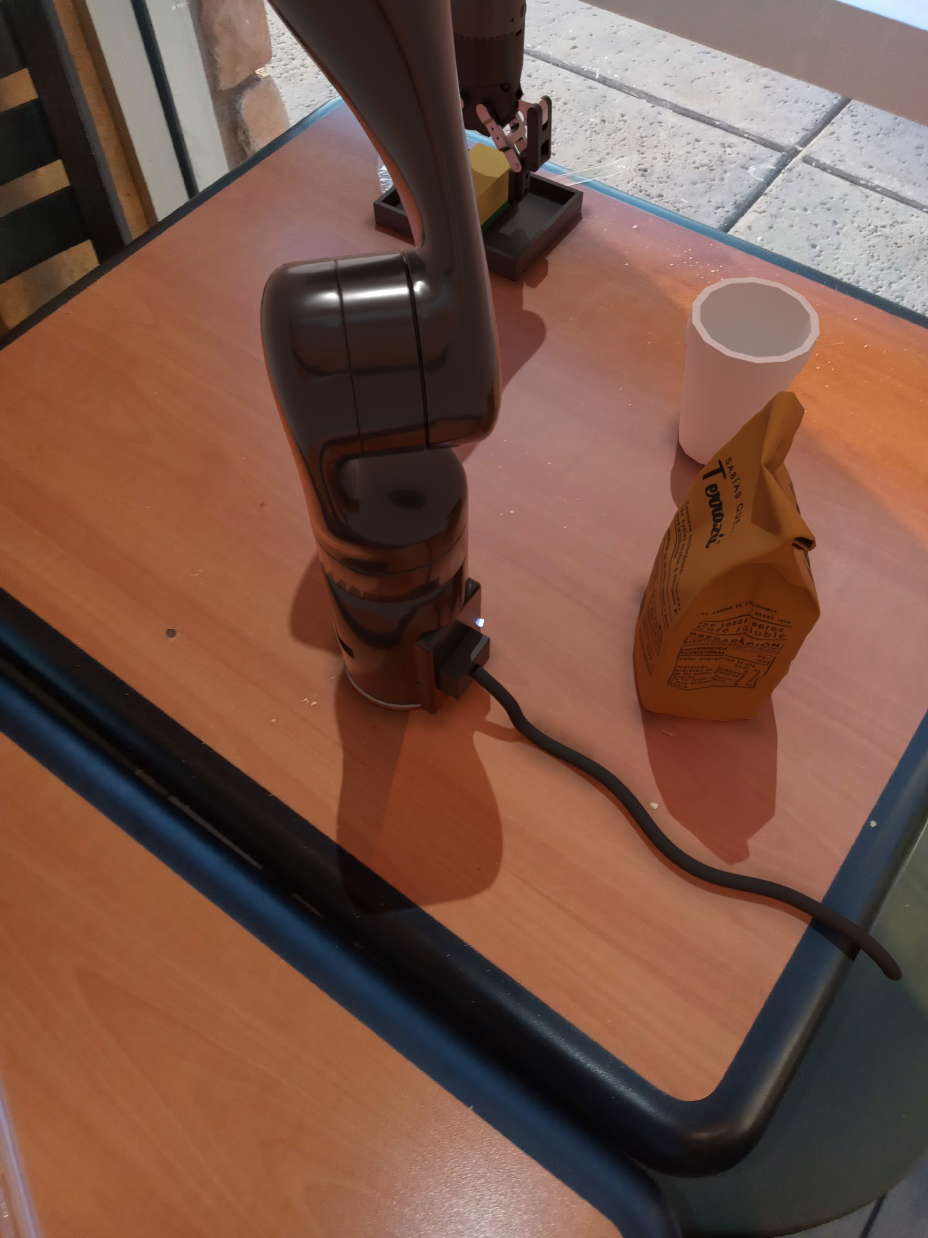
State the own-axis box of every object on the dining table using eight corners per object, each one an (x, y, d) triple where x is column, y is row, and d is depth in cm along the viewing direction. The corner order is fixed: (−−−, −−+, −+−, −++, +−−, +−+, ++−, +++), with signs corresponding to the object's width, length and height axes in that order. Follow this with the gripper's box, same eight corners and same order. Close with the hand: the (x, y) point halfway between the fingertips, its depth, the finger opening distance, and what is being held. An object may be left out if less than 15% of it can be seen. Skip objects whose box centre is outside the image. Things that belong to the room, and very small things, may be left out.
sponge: (478, 182, 97) (478, 141, 93) (518, 198, 95) (520, 157, 91) (436, 221, 93) (434, 181, 89) (476, 238, 92) (477, 197, 88)
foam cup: (643, 413, 80) (671, 290, 69) (738, 390, 82) (781, 266, 70) (689, 492, 75) (726, 375, 64) (789, 467, 77) (843, 347, 66)
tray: (581, 211, 95) (583, 191, 93) (515, 281, 90) (516, 261, 88) (445, 159, 100) (445, 139, 98) (374, 222, 95) (372, 202, 93)
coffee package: (767, 594, 70) (876, 381, 51) (764, 739, 64) (887, 557, 45) (638, 574, 71) (699, 358, 52) (622, 715, 65) (685, 527, 46)
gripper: (389, 7, 79) (401, 183, 92) (530, 53, 74) (521, 230, 88) (438, -27, 82) (443, 147, 96) (575, 15, 78) (560, 191, 91)
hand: (480, 187), depth 92 cm, fingers open, 8 cm apart
